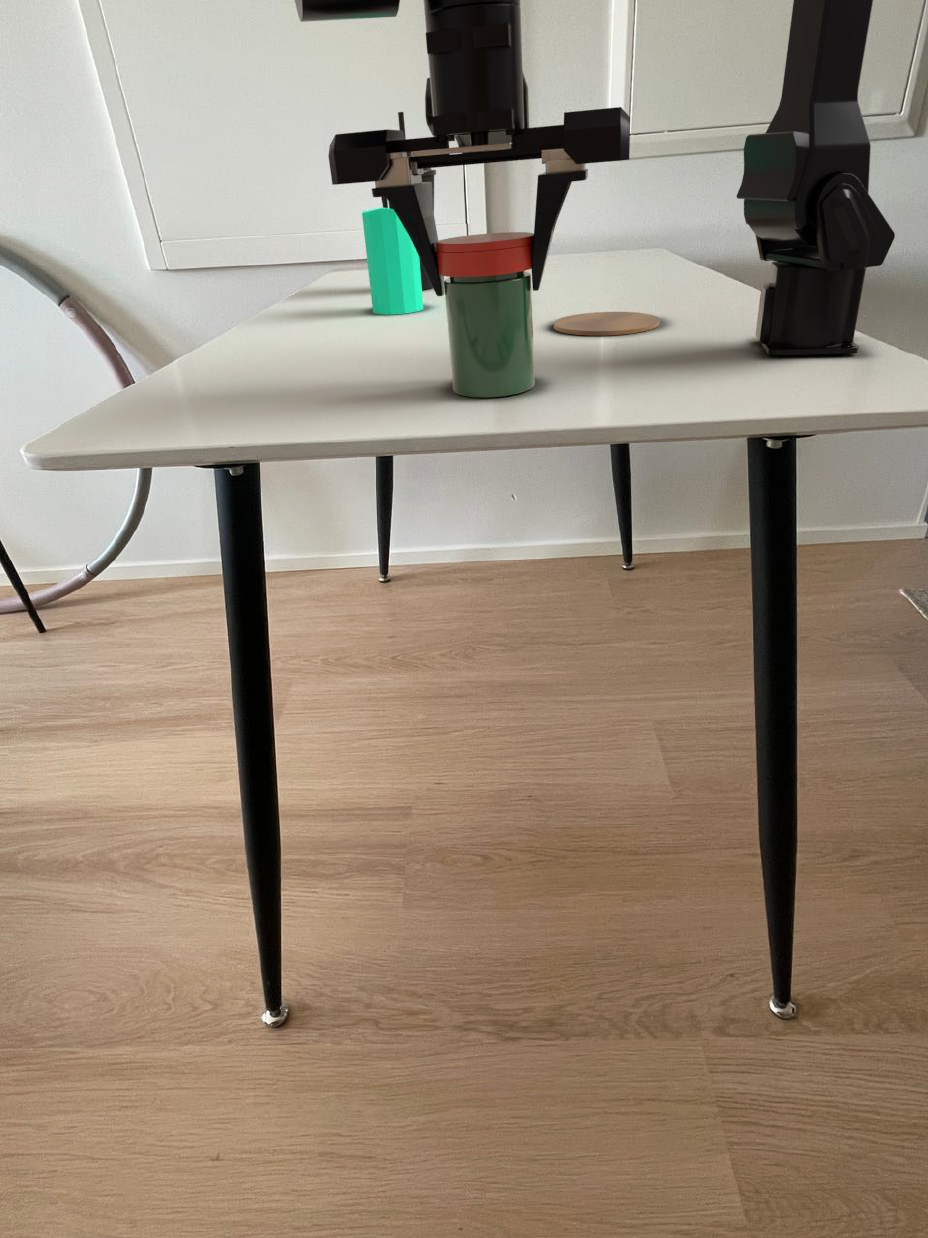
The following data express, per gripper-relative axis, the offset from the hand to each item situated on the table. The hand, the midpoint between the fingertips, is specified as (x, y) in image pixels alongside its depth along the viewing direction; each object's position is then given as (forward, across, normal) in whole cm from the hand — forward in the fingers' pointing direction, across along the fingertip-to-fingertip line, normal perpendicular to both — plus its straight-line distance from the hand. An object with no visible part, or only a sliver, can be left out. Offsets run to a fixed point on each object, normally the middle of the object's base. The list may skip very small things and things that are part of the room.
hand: (488, 292), depth 55 cm
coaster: (+7, -8, -23) cm, 25 cm away
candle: (+7, +16, -36) cm, 40 cm away
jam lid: (-3, 0, 0) cm, 3 cm away
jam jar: (+6, 0, 0) cm, 6 cm away
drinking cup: (+7, +17, -53) cm, 56 cm away
